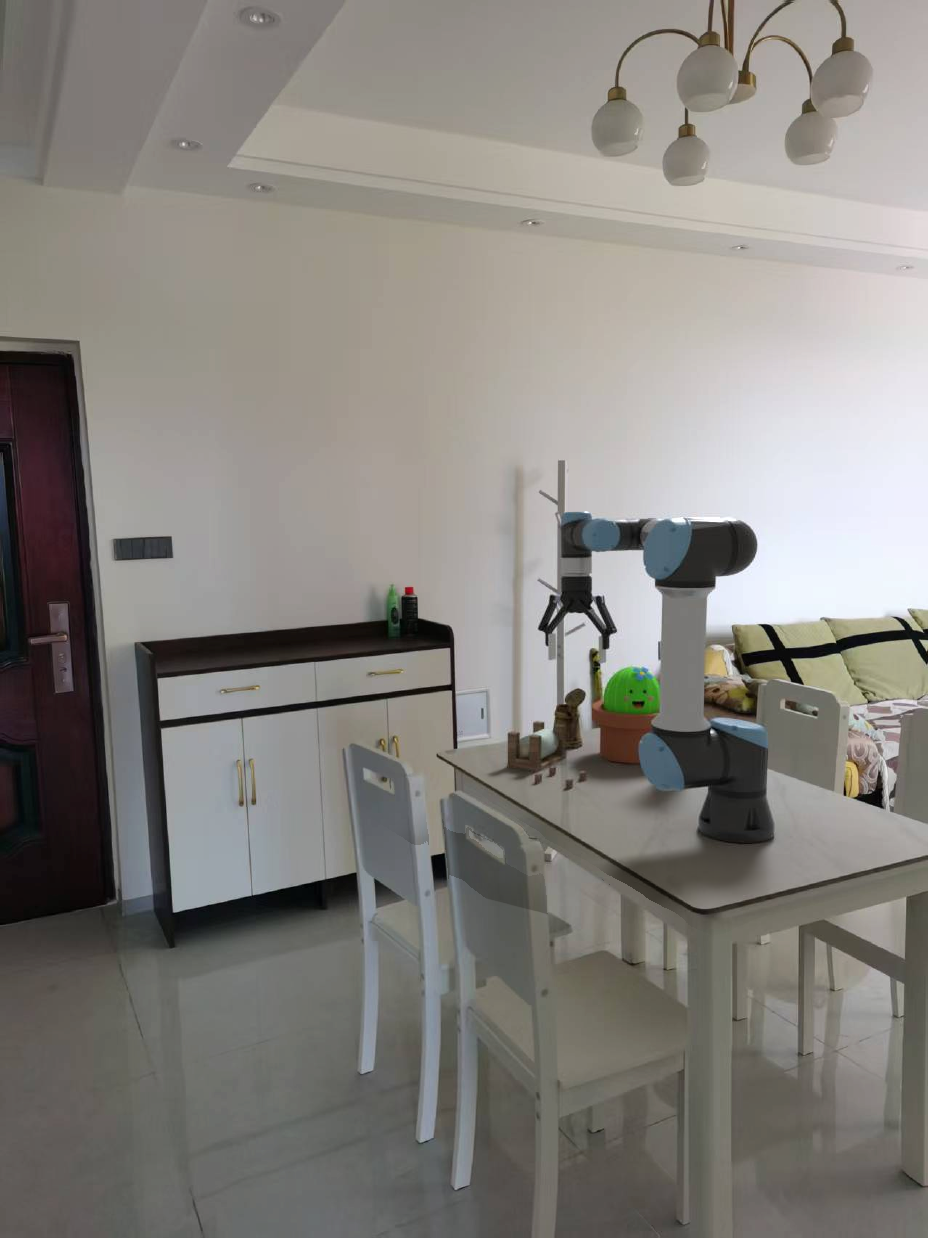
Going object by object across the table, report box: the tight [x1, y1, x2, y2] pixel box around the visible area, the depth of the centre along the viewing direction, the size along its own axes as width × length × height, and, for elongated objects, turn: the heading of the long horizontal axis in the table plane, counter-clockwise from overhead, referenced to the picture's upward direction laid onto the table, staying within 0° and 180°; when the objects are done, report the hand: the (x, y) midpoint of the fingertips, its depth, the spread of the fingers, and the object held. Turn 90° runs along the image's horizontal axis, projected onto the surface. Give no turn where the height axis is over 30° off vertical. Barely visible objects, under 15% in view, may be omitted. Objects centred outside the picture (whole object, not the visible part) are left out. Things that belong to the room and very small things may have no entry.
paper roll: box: [520, 728, 559, 759], centre depth 245 cm, size 14×7×7 cm, turn 147°
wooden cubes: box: [534, 765, 587, 790], centre depth 229 cm, size 9×10×2 cm
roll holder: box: [506, 720, 567, 773], centre depth 246 cm, size 16×9×9 cm, turn 147°
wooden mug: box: [552, 687, 587, 749], centre depth 261 cm, size 9×14×18 cm, turn 14°
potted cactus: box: [591, 664, 660, 765], centre depth 250 cm, size 22×22×25 cm
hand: (576, 661), depth 230 cm, fingers open, 13 cm apart
